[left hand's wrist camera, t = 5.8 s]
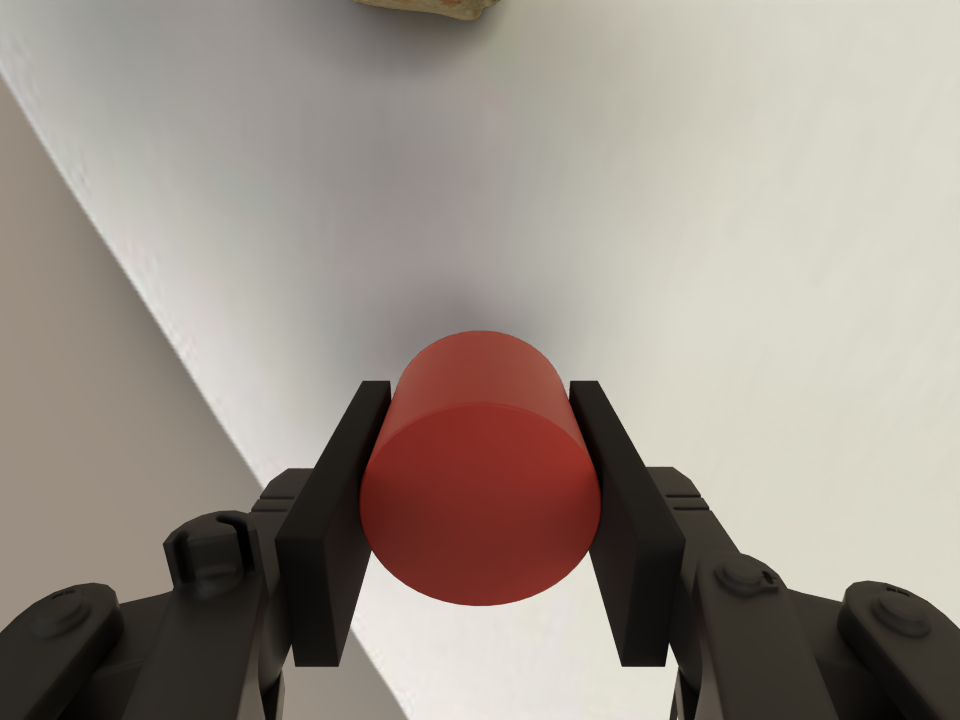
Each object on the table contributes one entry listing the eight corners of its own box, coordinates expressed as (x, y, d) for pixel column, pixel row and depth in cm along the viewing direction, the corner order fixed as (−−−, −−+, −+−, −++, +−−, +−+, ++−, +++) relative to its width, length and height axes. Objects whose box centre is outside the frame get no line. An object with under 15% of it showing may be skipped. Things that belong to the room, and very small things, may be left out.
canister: (517, 509, 16) (531, 635, 12) (367, 447, 15) (323, 558, 11) (599, 375, 14) (649, 464, 10) (436, 299, 14) (416, 361, 9)
